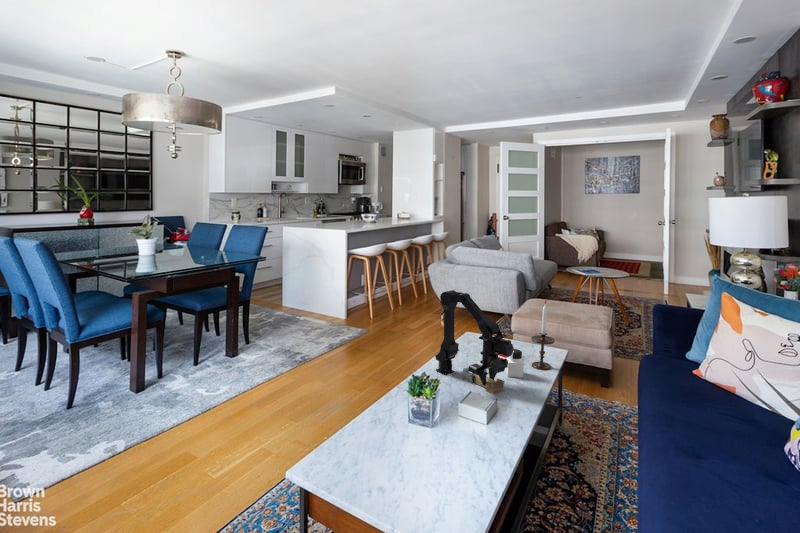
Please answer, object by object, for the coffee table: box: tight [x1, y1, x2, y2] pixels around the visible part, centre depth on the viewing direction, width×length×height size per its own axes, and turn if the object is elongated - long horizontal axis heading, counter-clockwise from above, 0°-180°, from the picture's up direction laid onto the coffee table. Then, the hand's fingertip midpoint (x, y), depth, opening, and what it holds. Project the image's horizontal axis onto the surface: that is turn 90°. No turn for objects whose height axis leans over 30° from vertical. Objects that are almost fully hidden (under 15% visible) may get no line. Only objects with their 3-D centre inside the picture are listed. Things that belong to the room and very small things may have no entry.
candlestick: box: [531, 298, 556, 371], centre depth 215 cm, size 11×11×35 cm
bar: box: [471, 372, 497, 389], centre depth 195 cm, size 13×4×3 cm, turn 33°
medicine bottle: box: [505, 348, 525, 378], centre depth 207 cm, size 7×7×12 cm
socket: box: [485, 378, 505, 395], centre depth 189 cm, size 4×7×4 cm, turn 123°
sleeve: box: [462, 366, 474, 384], centre depth 201 cm, size 6×7×5 cm
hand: (487, 384), depth 193 cm, fingers closed on bar, 4 cm apart
